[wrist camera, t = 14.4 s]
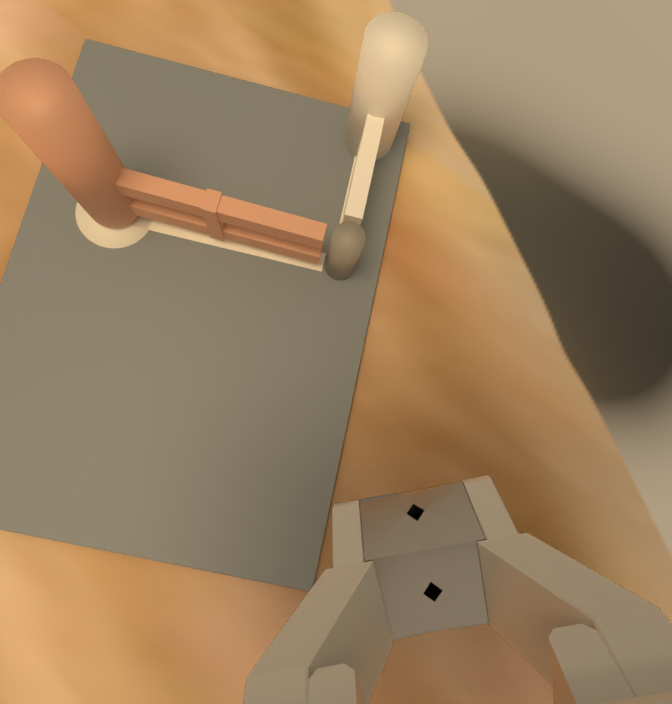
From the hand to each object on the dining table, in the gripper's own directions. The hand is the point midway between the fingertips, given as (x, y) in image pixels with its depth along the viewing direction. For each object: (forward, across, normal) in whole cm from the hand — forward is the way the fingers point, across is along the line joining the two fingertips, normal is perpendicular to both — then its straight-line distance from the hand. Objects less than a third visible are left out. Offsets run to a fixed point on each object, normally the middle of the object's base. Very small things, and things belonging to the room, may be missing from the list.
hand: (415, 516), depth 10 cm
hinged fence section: (+24, +8, -4) cm, 25 cm away
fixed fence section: (+26, -1, -3) cm, 26 cm away
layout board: (+22, +10, 0) cm, 24 cm away
